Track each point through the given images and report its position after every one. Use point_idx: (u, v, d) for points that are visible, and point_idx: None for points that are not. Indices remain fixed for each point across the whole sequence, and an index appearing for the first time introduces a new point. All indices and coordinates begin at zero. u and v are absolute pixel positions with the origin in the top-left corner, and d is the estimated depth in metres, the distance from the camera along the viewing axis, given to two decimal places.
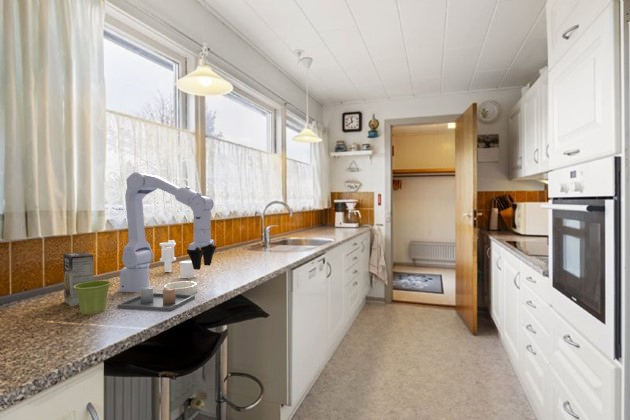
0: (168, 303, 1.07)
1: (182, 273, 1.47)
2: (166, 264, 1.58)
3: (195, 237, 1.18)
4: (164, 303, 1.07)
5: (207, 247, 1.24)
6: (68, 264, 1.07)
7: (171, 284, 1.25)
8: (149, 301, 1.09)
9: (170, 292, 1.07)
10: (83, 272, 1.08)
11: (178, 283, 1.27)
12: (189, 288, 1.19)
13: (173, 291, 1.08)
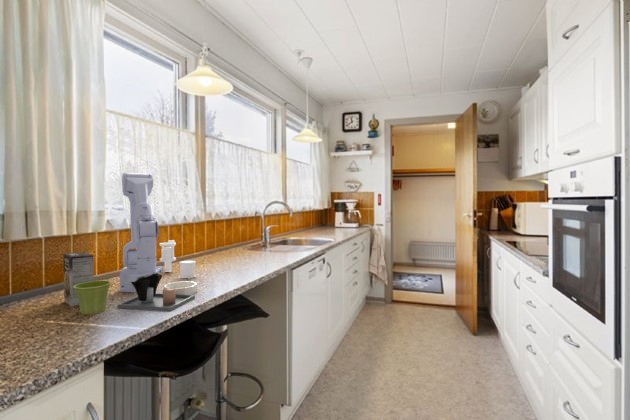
0: (168, 303, 1.07)
1: (182, 273, 1.47)
2: (166, 264, 1.58)
3: (138, 266, 1.08)
4: (164, 303, 1.07)
5: (151, 277, 1.12)
6: (68, 264, 1.07)
7: (171, 284, 1.25)
8: (149, 301, 1.09)
9: (170, 292, 1.07)
10: (83, 272, 1.08)
11: (178, 283, 1.27)
12: (189, 288, 1.19)
13: (173, 291, 1.08)
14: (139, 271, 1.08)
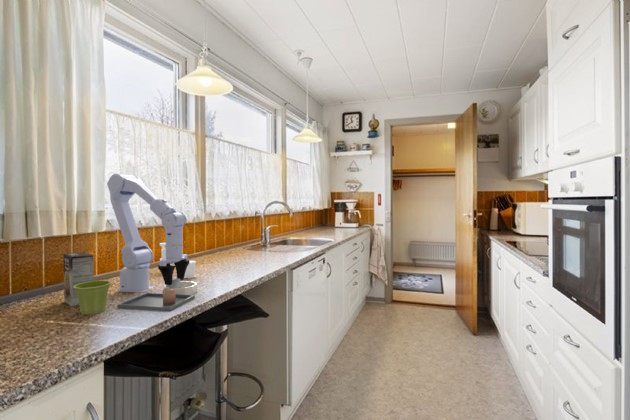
0: (168, 303, 1.07)
1: None
2: None
3: (167, 253, 1.20)
4: (164, 303, 1.07)
5: (180, 262, 1.26)
6: (68, 264, 1.07)
7: None
8: None
9: (170, 292, 1.07)
10: (83, 272, 1.08)
11: None
12: (189, 288, 1.19)
13: (173, 291, 1.08)
14: (168, 257, 1.20)
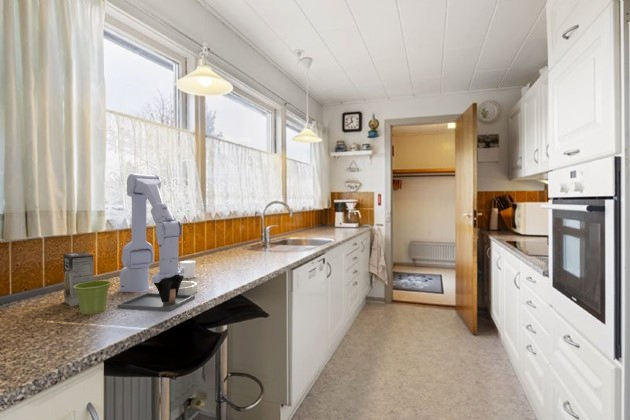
0: (168, 303, 1.07)
1: None
2: None
3: (160, 267, 1.06)
4: (164, 303, 1.07)
5: (173, 278, 1.11)
6: (68, 264, 1.07)
7: None
8: None
9: (170, 292, 1.07)
10: (83, 272, 1.08)
11: None
12: (189, 288, 1.19)
13: (173, 291, 1.08)
14: (162, 272, 1.06)
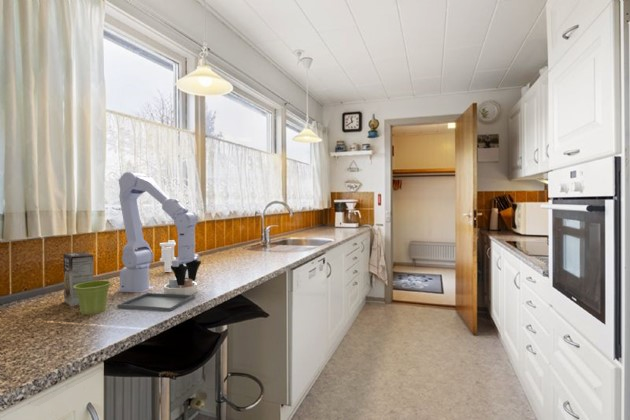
0: None
1: None
2: (166, 264, 1.58)
3: (179, 253, 1.19)
4: None
5: (191, 262, 1.25)
6: (68, 264, 1.07)
7: None
8: None
9: (188, 282, 1.20)
10: (83, 272, 1.08)
11: None
12: (189, 288, 1.19)
13: (190, 281, 1.21)
14: (180, 258, 1.19)
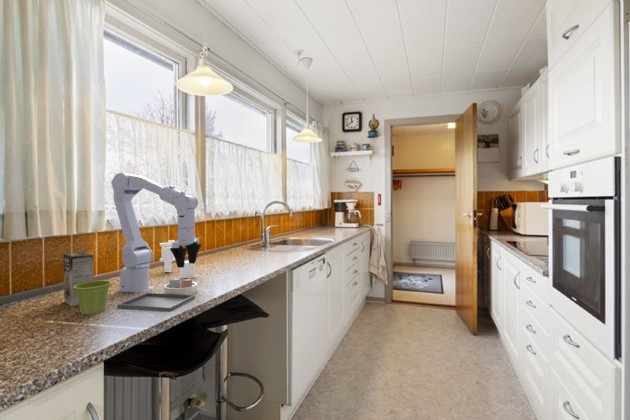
0: None
1: (182, 273, 1.47)
2: (166, 264, 1.58)
3: (179, 235, 1.19)
4: None
5: (192, 245, 1.25)
6: (68, 264, 1.07)
7: None
8: None
9: (188, 282, 1.20)
10: (83, 272, 1.08)
11: None
12: (189, 288, 1.19)
13: (190, 281, 1.21)
14: (180, 240, 1.19)
